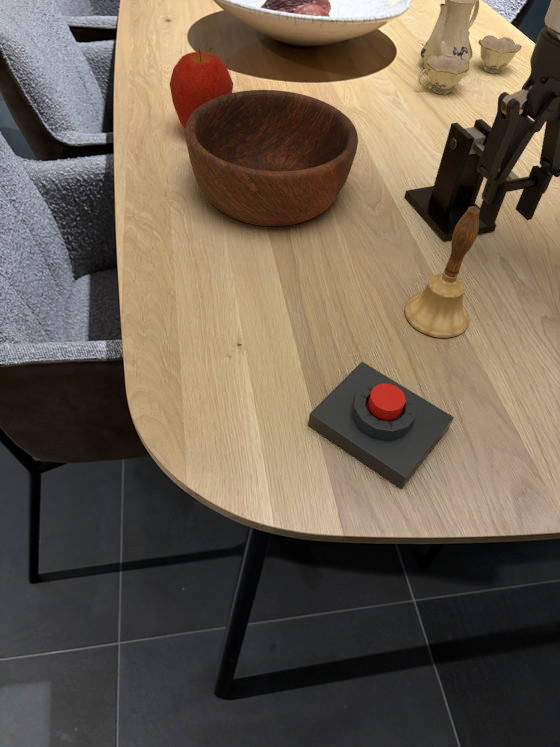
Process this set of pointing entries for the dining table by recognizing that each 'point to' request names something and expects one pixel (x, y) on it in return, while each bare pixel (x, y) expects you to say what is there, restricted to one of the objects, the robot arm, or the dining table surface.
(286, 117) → the wooden bowl
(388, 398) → the button
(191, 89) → the apple
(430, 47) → the chinaware
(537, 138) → the dining table surface
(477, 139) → the lever
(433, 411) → the push button switch
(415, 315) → the hand bell
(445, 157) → the bracket
